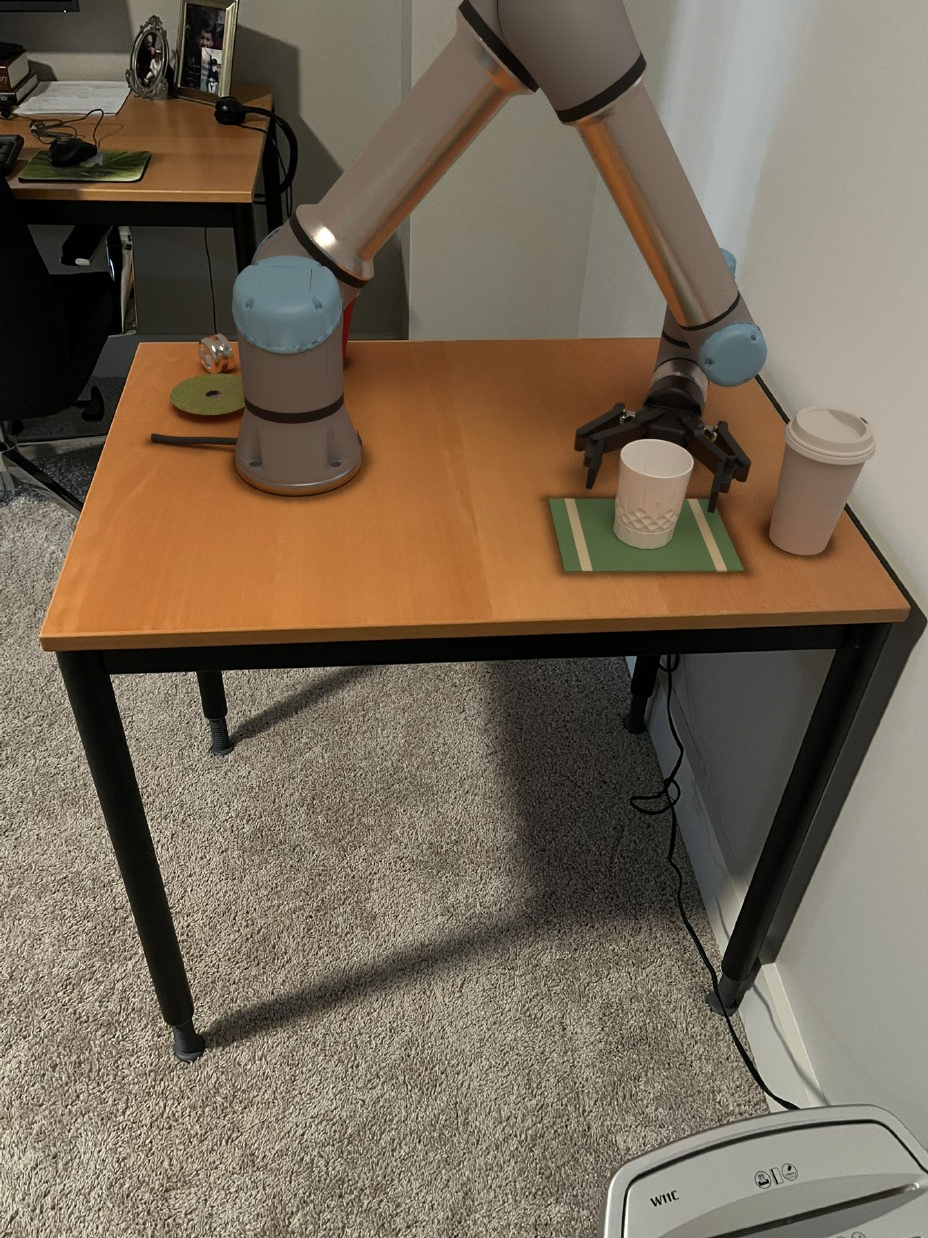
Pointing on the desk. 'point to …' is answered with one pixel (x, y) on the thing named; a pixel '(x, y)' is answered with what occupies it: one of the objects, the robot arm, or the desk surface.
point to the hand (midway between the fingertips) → (650, 490)
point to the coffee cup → (818, 476)
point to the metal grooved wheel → (216, 353)
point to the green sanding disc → (209, 394)
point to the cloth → (599, 550)
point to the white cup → (650, 492)
